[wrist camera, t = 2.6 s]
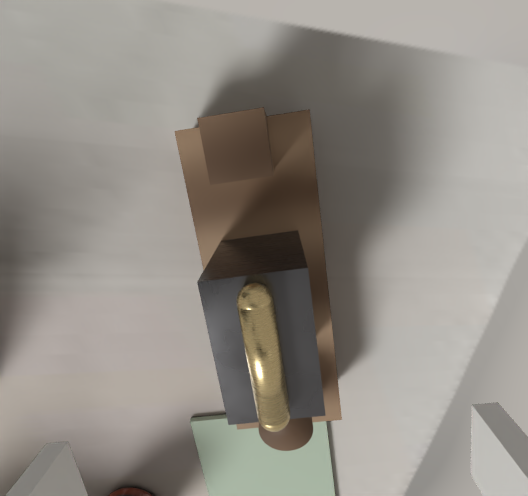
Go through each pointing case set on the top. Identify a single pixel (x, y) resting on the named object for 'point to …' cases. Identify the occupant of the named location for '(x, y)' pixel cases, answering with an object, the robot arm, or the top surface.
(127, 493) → the supplement bottle
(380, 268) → the top surface
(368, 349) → the top surface
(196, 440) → the mat
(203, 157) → the plane body
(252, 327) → the lever cap
